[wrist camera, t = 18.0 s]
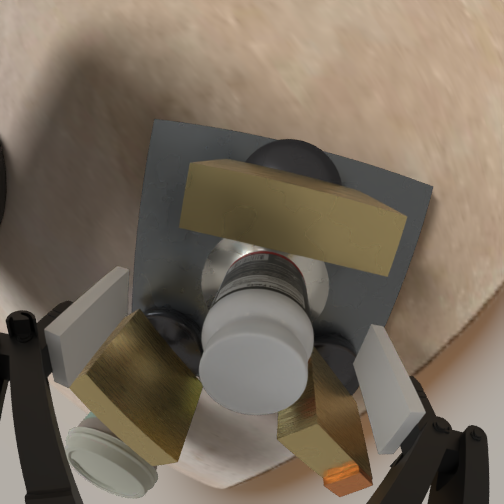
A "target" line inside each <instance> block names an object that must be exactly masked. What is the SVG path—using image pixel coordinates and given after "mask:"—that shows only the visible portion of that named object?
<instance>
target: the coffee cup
mask: <svg viewBox="0 0 504 504" xmlns="http://www.w3.org/2000/svg"><path fill="white" fill-rule="evenodd" d="M65 453H66V456H67V459H68V462H69V464H70V465H71V467H72V468H73V469H74V470H75V471H76V472H77V473H78V474H80V475H81V476H82V477H83V478H85V479H86V480H87V481H89V482H90V483H92V484H93V485H95V486H97V487H99V488H101V489H103V490H105V491H107V492H110V493H112V494H115V495H118V496H121V497H126V498H140V497H143V496H144V495H145V494H146V492H147V491H148V490H149V489H151V488H152V487H153V486H154V484H155V483H156V482H157V480H158V474H157V472H156V469H157V466H151V465H150V464H149V463H148V462H146V461H145V460H144V459H143V458H142V457H140V456H139V455H138V454H137V453H136V452H134V451H133V450H132V449H131V448H130V447H129V446H127V445H126V444H125V443H124V442H123V441H122V440H121V439H120V438H118V437H117V436H116V435H115V434H114V433H113V432H112V431H111V430H110V429H109V428H108V427H107V426H106V425H104V424H103V423H102V422H101V421H100V420H99V419H98V418H97V417H96V416H95V415H94V414H93V413H92V412H90V413H89V414H88V415H87V416H86V418H85V419H84V420H83V421H82V422H81V423H80V424H79V426H77V427H74V428H72V429H70V431H69V433H68V436H67V438H66V447H65Z"/></svg>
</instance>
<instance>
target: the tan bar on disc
mask: <svg viewBox="0 0 504 504" xmlns="http://www.w3.org/2000/svg"><path fill="white" fill-rule="evenodd" d="M356 356H357V354H356V351H355V349H354V347H353V346H352V345H351V344H350V343H349V342H348V341H347V340H345V339H344V338H342V337H340V336H337V335H333V334H314V344H313V350H312V353H311V356H310V358H309V360H308V380H307V385H306V388H305V390H304V392H303V394H302V395H301V396H300V398H299V399H298V400H297V401H296V402H295V403H293V404H292V405H291V406H289V407H287V408H286V409H284V410H281V411H279V412H278V429H277V440H278V441H279V442H280V443H282V444H283V445H284V446H285V447H286V448H287V449H288V450H290V451H291V452H292V453H293V454H294V455H295V456H297V457H298V458H299V459H300V460H301V461H303V462H304V463H305V464H306V465H308V466H309V467H310V468H311V469H312V470H314V471H315V472H316V473H317V474H318V475H320V476H321V477H322V478H323V481H324V486H325V487H326V488H328V489H329V490H330V491H332V492H333V493H335V494H336V495H338V496H339V497H341V496H345V495H347V494H350V493H353V492H356V491H359V490H362V489H364V488H367V487H369V486H372V485H373V483H372V473H371V468H370V463H369V458H368V453H367V449H366V443H365V439H364V434H363V430H362V425H361V421H360V416H359V412H358V407H357V403H356V401H355V400H354V399H353V397H352V395H353V394H354V393H355V391H356V390H357V389H358V387H359V382H358V379H357V375H356V372H355V369H354V365H353V363H354V361H355V359H356Z"/></svg>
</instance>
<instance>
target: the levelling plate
mask: <svg viewBox="0 0 504 504" xmlns="http://www.w3.org/2000/svg"><path fill="white" fill-rule="evenodd" d="M273 141H277V140H275V139H271V138H266V137H262V136H257V135H252V134H247V133H242V132H237V131H231V130H226V129H220V128H215V127H209V126H202V125H196V124H189V123H182V122H175V121H168V120H160V119H154V124H153V129H152V134H151V140H150V145H149V151H148V157H147V163H146V169H145V175H144V182H143V189H142V196H141V204H140V212H139V220H138V230H137V240H136V250H135V262H134V276H133V294H132V313H133V312H135V311H136V310H138V309H141V311H142V312H143V313H144V312H145V311H147V310H149V309H152V308H156V307H166V308H171V309H175V310H178V311H180V312H182V313H184V314H185V315H187V316H188V317H190V318H191V319H192V320H193V321H194V322H195V323H196V324H197V325H198V326H199V328H200V329H201V331H202V328H203V324H204V321H205V318H206V316H207V314H208V312H209V310H210V308H211V306H212V303H213V301H214V299H215V297H216V294H217V292H218V290H219V287H220V285H221V283H222V281H223V279H224V277H225V275H226V273H227V271H228V269H229V268H230V266H231V265H232V264H233V263H234V262H235V261H236V260H237V259H239V258H240V257H242V256H243V255H245V254H248V253H251V252H254V251H264V250H265V251H273V252H277V253H280V254H282V255H284V256H286V257H288V258H289V259H290V260H292V261H293V262H294V263H295V264H296V265H297V266H298V268H299V269H300V271H301V273H302V275H303V277H304V280H305V283H306V289H307V294H308V301H309V307H310V313H311V319H312V325H313V332H314V334H333V335H337V336H340V337H342V338H344V339H345V340H347V341H348V342H349V343H350V344H351V345H352V346H353V347H354V349H355V351H356V354H358V352H359V350H360V348H361V346H362V344H363V341H364V339H365V337H366V335H367V333H368V330H369V328H370V326H371V324H373V325H379V326H383V327H385V325H386V323H387V320H388V318H389V316H390V313H391V311H392V308H393V306H394V304H395V301H396V299H397V296H398V294H399V291H400V289H401V286H402V283H403V281H404V278H405V275H406V273H407V270H408V267H409V264H410V262H411V259H412V256H413V253H414V250H415V247H416V244H417V241H418V238H419V235H420V232H421V228H422V225H423V222H424V219H425V215H426V212H427V208H428V205H429V201H430V197H431V194H432V190H433V186H430V185H428V184H425V183H422V182H419V181H417V180H414V179H411V178H408V177H405V176H403V175H400V174H397V173H394V172H391V171H388V170H385V169H382V168H379V167H375V166H372V165H369V164H366V163H363V162H359V161H356V160H353V159H349V158H346V157H342V156H339V155H335V154H332V153H328V152H324V151H323V152H324V153H325V154H326V155H327V156H328V157H329V158H330V159H331V160H332V162H333V163H334V165H335V166H336V168H337V170H338V172H339V175H340V178H341V182H342V186H345V187H348V188H352V189H355V190H358V191H360V192H362V193H364V194H366V195H368V196H370V197H372V198H374V199H376V200H378V201H380V202H382V203H384V204H385V205H387V206H389V207H391V208H393V209H395V210H396V211H398V212H400V213H402V214H404V215H406V216H407V220H406V223H405V226H404V229H403V233H402V236H401V239H400V242H399V245H398V248H397V251H396V254H395V257H394V260H393V263H392V266H391V269H390V271H389V274H388V277H386V276H382V275H378V274H374V273H370V272H365V271H361V270H357V269H353V268H349V267H345V266H340V265H336V264H332V263H328V262H324V261H319V260H315V259H311V258H307V257H303V256H298V255H294V254H290V253H286V252H281V251H277V250H273V249H269V248H264V247H260V246H256V245H251V244H247V243H243V242H239V241H234V240H230V239H226V238H221V237H217V236H213V235H208V234H204V233H200V232H195V231H191V230H187V229H182V228H179V224H180V217H181V211H182V205H183V199H184V193H185V187H186V181H187V176H188V170H189V165H190V163H192V162H200V161H209V160H219V159H232V160H237V161H242V162H245V161H246V160H247V159H248V158H249V156H250V155H251V154H252V153H253V152H255V151H256V150H257V149H259V148H260V147H262V146H264V145H266V144H268V143H270V142H273ZM196 376H199V372H198V374H197V375H196ZM199 377H200V376H199Z"/></svg>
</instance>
